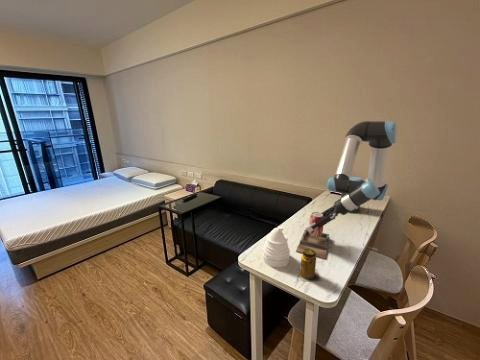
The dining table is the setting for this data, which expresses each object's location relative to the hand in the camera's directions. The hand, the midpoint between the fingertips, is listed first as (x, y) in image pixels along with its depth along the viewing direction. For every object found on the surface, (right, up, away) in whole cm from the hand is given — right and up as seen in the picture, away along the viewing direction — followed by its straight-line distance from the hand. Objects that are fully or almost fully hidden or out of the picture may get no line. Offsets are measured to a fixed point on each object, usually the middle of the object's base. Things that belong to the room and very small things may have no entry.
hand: (309, 227), depth 120 cm
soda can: (+3, -4, 0) cm, 5 cm away
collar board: (+2, -10, -1) cm, 10 cm away
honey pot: (-20, -13, -11) cm, 27 cm away
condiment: (-7, -17, -23) cm, 29 cm away
